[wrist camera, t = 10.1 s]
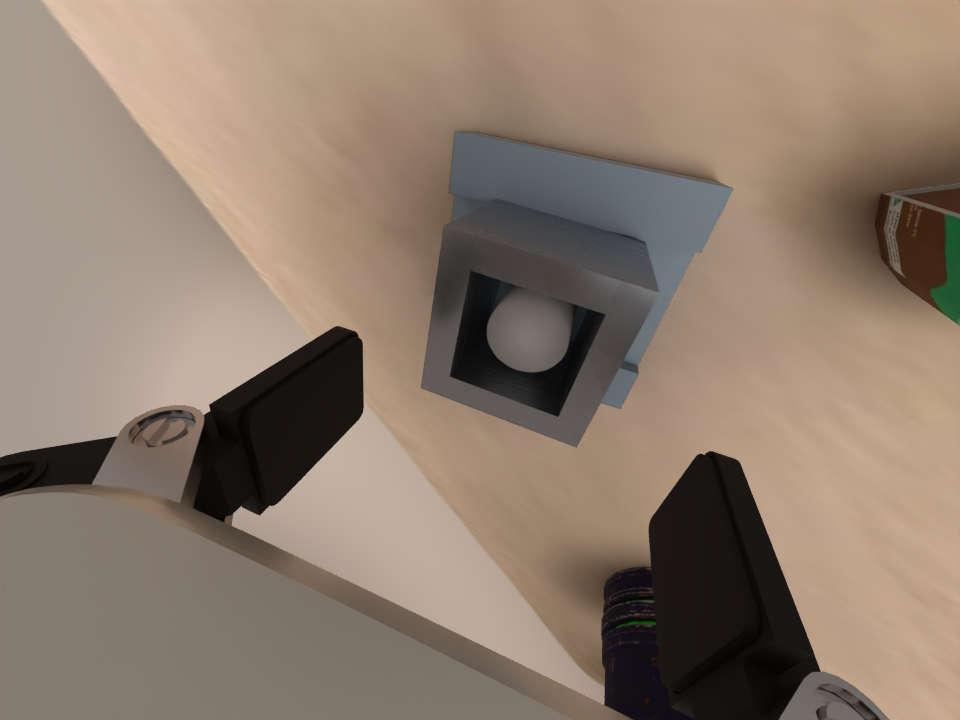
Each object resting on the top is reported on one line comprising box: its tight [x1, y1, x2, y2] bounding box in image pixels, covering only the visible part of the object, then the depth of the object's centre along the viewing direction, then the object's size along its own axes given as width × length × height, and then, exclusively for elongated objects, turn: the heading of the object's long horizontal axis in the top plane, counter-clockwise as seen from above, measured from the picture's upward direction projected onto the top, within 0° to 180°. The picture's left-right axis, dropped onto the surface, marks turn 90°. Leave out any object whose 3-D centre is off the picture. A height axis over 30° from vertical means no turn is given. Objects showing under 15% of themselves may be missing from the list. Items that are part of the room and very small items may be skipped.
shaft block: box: [449, 131, 733, 409], centre depth 16 cm, size 11×11×8 cm
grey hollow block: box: [421, 198, 660, 448], centre depth 15 cm, size 7×7×6 cm
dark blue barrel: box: [601, 567, 694, 720], centre depth 24 cm, size 10×10×15 cm
